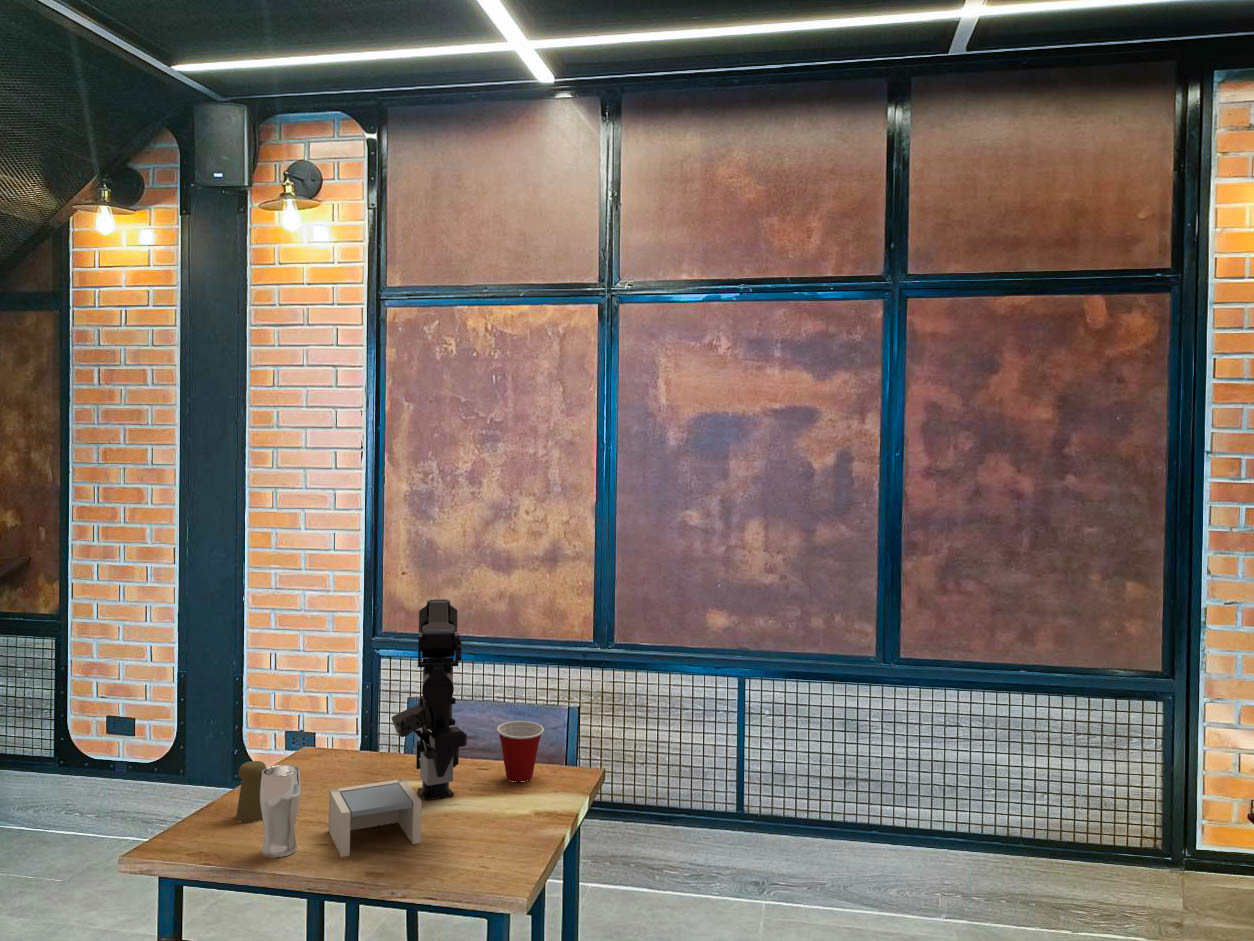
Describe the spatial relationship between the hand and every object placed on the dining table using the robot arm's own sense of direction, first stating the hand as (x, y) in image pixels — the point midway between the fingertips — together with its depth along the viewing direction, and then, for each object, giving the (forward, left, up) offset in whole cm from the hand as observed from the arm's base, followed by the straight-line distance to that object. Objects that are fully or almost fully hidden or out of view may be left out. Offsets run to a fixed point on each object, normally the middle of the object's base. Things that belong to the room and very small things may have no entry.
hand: (436, 772), depth 174 cm
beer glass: (-5, -28, -12) cm, 31 cm away
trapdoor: (-3, -11, -5) cm, 12 cm away
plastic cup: (-23, +26, -12) cm, 37 cm away
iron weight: (0, 0, -1) cm, 1 cm away
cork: (-25, -31, -12) cm, 41 cm away
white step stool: (-4, -11, -12) cm, 17 cm away
